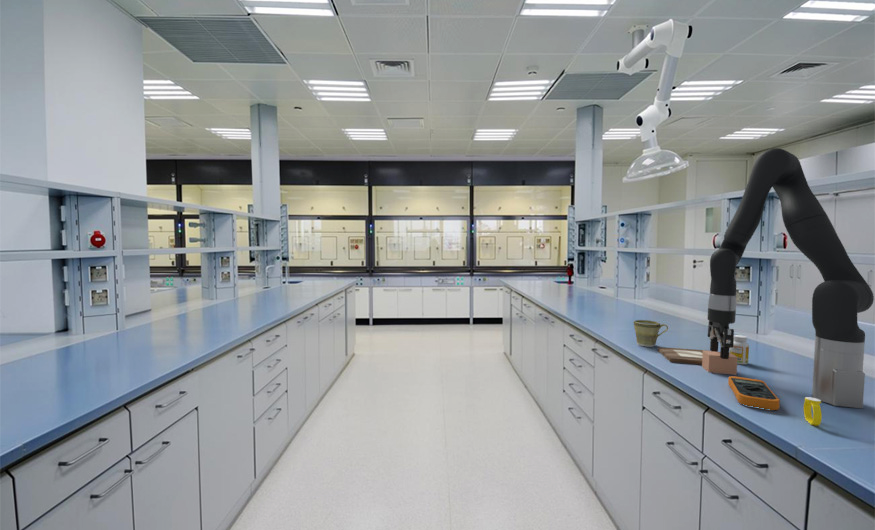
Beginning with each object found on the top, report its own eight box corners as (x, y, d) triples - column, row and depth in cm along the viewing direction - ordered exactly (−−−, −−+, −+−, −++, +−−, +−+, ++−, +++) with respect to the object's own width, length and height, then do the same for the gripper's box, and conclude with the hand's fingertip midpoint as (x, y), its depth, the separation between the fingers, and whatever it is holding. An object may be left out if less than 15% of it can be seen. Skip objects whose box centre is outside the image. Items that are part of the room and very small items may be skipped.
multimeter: (739, 407, 100) (739, 394, 100) (727, 385, 116) (727, 374, 115) (781, 414, 96) (782, 401, 96) (763, 391, 111) (764, 379, 111)
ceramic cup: (635, 347, 158) (636, 323, 158) (630, 341, 168) (631, 319, 167) (670, 349, 154) (671, 325, 154) (663, 343, 164) (664, 320, 163)
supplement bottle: (741, 360, 140) (742, 334, 140) (751, 365, 135) (753, 338, 134) (725, 360, 141) (726, 334, 140) (735, 364, 135) (736, 337, 135)
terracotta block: (736, 375, 125) (737, 357, 124) (708, 372, 127) (709, 355, 127) (728, 369, 130) (729, 352, 130) (702, 367, 132) (702, 350, 132)
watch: (799, 418, 94) (799, 394, 94) (814, 420, 92) (814, 396, 93) (809, 426, 88) (810, 401, 88) (825, 429, 87) (826, 403, 87)
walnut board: (728, 366, 133) (728, 362, 133) (670, 362, 138) (670, 357, 138) (709, 354, 148) (709, 350, 148) (657, 350, 153) (657, 346, 153)
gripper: (745, 312, 120) (741, 362, 121) (725, 305, 133) (723, 350, 134) (717, 310, 122) (714, 360, 123) (701, 303, 136) (698, 348, 137)
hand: (718, 354), depth 129 cm, fingers open, 8 cm apart
